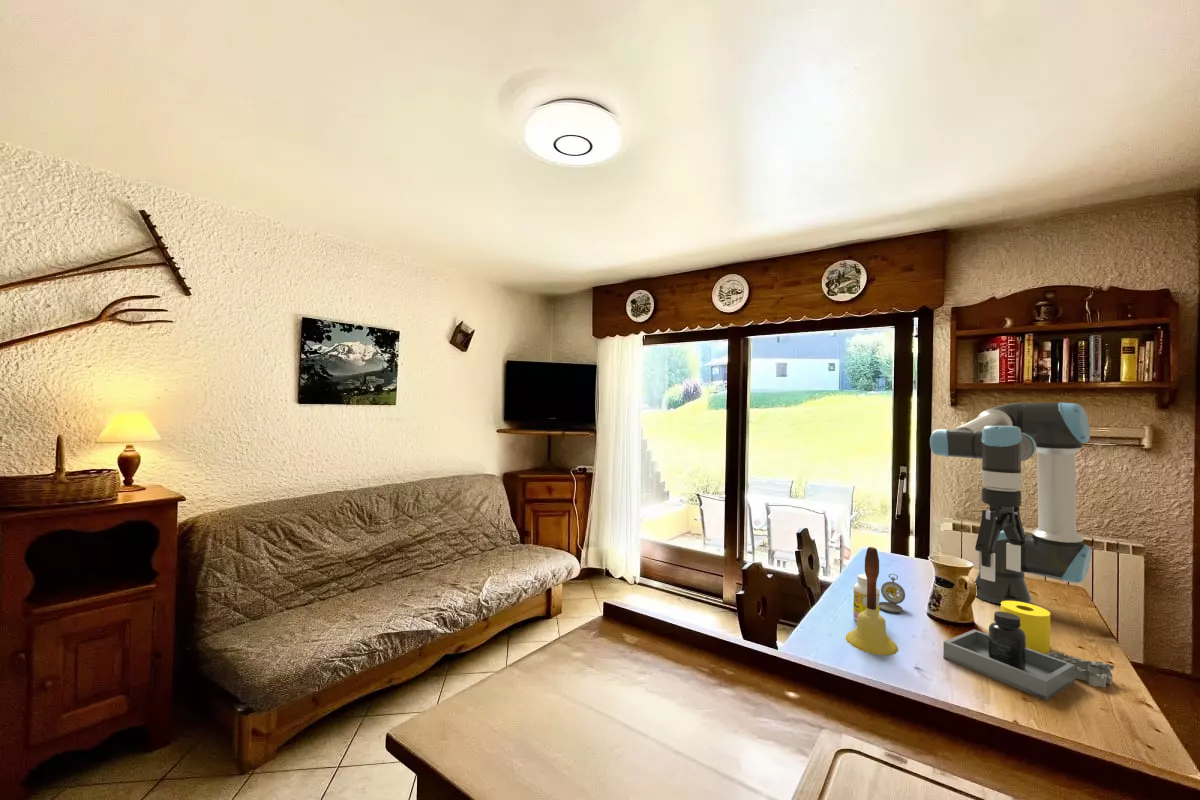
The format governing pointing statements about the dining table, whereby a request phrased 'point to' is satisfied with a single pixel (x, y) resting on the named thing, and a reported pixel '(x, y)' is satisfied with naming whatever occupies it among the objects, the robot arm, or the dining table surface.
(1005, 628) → the supplement bottle
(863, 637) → the handbell
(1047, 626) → the yellow toilet roll
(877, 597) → the supplement bottle
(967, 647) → the tray
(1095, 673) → the egg carton
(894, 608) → the pocket watch
